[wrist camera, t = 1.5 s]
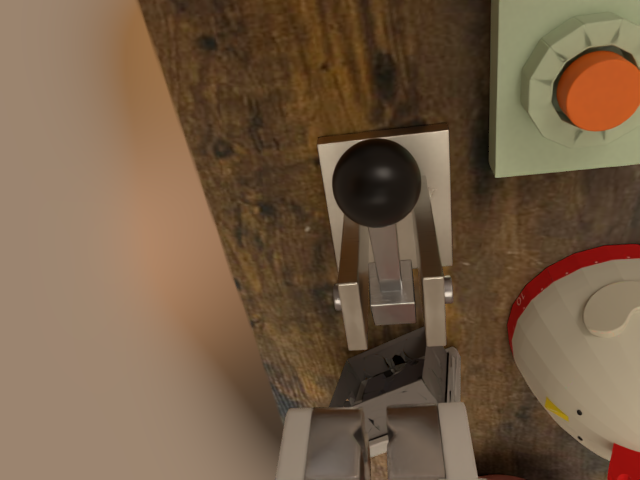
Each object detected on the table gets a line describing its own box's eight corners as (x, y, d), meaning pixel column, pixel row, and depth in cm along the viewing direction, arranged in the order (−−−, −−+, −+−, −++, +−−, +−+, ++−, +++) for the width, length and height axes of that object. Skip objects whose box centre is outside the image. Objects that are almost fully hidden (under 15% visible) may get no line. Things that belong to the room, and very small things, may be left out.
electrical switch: (362, 390, 47) (353, 483, 39) (328, 348, 45) (312, 436, 37) (461, 350, 43) (474, 443, 35) (429, 303, 42) (435, 389, 34)
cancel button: (558, 55, 27) (569, 64, 26) (636, 45, 27) (651, 54, 25) (553, 123, 29) (562, 136, 28) (625, 115, 29) (638, 127, 27)
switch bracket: (318, 136, 34) (295, 238, 25) (447, 122, 33) (477, 222, 23) (339, 264, 40) (327, 389, 30) (450, 256, 39) (477, 383, 29)
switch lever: (325, 124, 19) (325, 200, 18) (416, 114, 19) (425, 191, 17) (363, 278, 30) (365, 333, 29) (421, 274, 30) (426, 330, 28)
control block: (491, -28, 29) (506, -16, 25) (676, -56, 27) (718, -48, 24) (488, 162, 34) (500, 192, 31) (641, 147, 33) (671, 176, 30)
